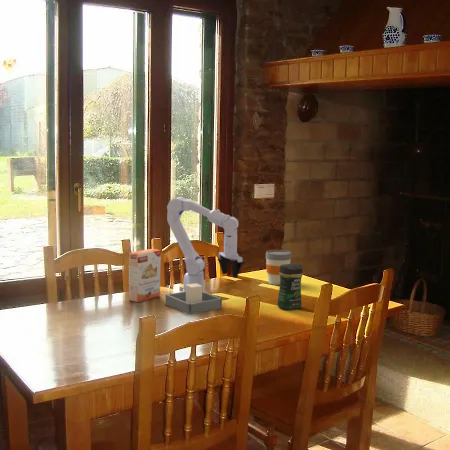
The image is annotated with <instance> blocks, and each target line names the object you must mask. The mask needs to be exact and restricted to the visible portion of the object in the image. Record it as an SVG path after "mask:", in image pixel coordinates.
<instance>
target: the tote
mask: <svg viewBox="0 0 450 450" xmlns="http://www.w3.org/2000/svg"><path fill="white" fill-rule="evenodd" d="M205 292H206V291H204V292H203V291H202V302H198V303H192V304H189V303H187V302H186V291H185V292H182V291H179V292H173V293H167V294H165V305H167V306H169V307H171V308H173V309H176V310H178V311H180V312H183V313H185V314H187V315H194V314H199V313H204V312H209V311H215V310H218V309H219V310H220V309H223V298H222V297H218V296H216V295H213V294H210V293H208V292H207V293H205Z"/></svg>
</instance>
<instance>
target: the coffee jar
mask: <svg viewBox="0 0 450 450" xmlns="http://www.w3.org/2000/svg"><path fill="white" fill-rule="evenodd" d="M279 275H280V285H279V289H278V297H277V307H278V308H279V309H281V310H288V311H289V310H290V311H291V310H297V309H301V307H302V286H301V285H302V277H303V275H304V272H303V265H302V264H299V263H290V264H284V265H281V266H280V270H279Z"/></svg>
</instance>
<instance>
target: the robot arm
mask: <svg viewBox="0 0 450 450" xmlns="http://www.w3.org/2000/svg"><path fill="white" fill-rule="evenodd" d="M166 209H167V215H166V216H167V217H166V219H167V223H168V226H169V227H170V230H171V231H172V234H173V236H174V237H175V240H176V242H177V244H178V246H179V247H180V250H181V252H182V253H183V256H184V263H185V267H186V268H185V269H186V273H184V276H183V283H182V285H183V287H182V290H181V292H185V291H186V285H187V284H195V283H197V284H199V285H201V286H202V291H203V292H205V293H208V292H207V291H205V289H204V288H205V286H204V285H205V283H204V281H205V280H204V279H205V277H204V276H205V273H204V269H205V267H206V262H205V260H204V259H203V258H202V257H201V256H200V255H199V253H198V252H197V251H196V250H195V247H194V246H193V244H192V242H191V240H190V238H189V236H188V234H187V232H186V229H185V228H184V227H185V226H183V223H182V222H181V219H182V218H181V217H182V215H183V213H184V212H186V211H187V212H188V211H192V212H195V213H197V214H199V215H201V216H203V217H207V220H208V222H210V223H212V224H214V225H217V226H218V227H220V228H222V229H223V230H224V235H223V251H219V252H218V258H217V262H218V264H219V266H220V269H221V273H222V274H223V275H226V274H227V275H228V269H229V263H230V265H231V266H230V267H231V271H232V278H238V277H239V272H240V271H241V270H240V269H241V268H242V266H243V264H244V261H243V257H242V256H240V255H239V254H238V227H239V224H240V223H239V220H238V218H236V217H235V216H230V214H225V213H223V212H221V210H220V209H212V210H210V209H209V208H206V207H204V206H203V205H201V204H199V203H197V202H196V201H194V200H191V199H190V198H187V197H185V196H178V197H175V198H171V199H170V200H169V202H168V204H167V206H166ZM230 260H231V261H230Z"/></svg>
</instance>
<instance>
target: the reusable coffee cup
mask: <svg viewBox="0 0 450 450" xmlns="http://www.w3.org/2000/svg"><path fill="white" fill-rule="evenodd" d="M292 258H293V257H292V252H291V251H290V250H285V249H284V250H283V249H272V250H271V249H270V250H266V252H265V259H266V260H265V261H266V262H265V268H266V269H265V270H266V273H267V280H268V283H269V284H271V285H277V286H280V275H279V270H280V266H281V265H284V264H291V260H292Z"/></svg>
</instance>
